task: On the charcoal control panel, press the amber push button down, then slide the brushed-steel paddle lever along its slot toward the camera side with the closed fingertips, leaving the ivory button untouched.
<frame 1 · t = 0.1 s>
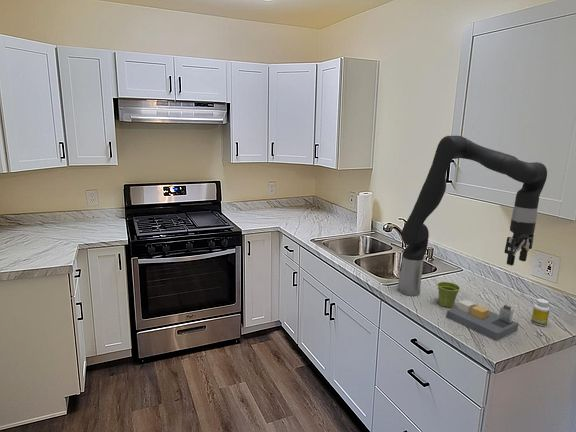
hand: (516, 262, 142), 29 cm above the countertop, fingers open, 8 cm apart
ivory button: (466, 307, 162), point 4 cm above the countertop, slide at 0.0 cm
panel: (480, 323, 157), on the countertop
amber button: (479, 313, 157), point 4 cm above the countertop, slide at 0.0 cm
supplement bottle: (538, 323, 159), on the countertop
plant pot: (446, 304, 174), on the countertop
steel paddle: (506, 313, 152), point 6 cm above the countertop, slide at 0.0 cm
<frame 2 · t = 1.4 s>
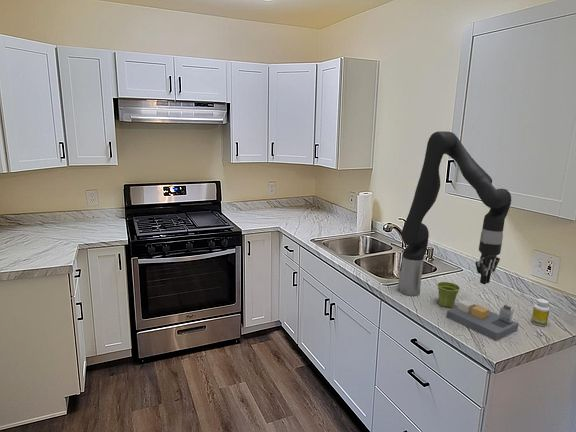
hand: (484, 282, 154), 17 cm above the countertop, fingers closed
nothing on the countertop moved.
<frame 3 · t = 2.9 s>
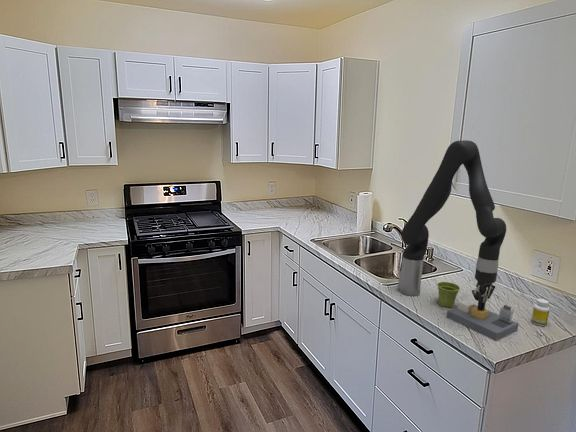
hand: (480, 309, 157), 6 cm above the countertop, fingers closed
amber button: (479, 314, 157), point 4 cm above the countertop, slide at 0.4 cm, touching gripper
everything else where it was.
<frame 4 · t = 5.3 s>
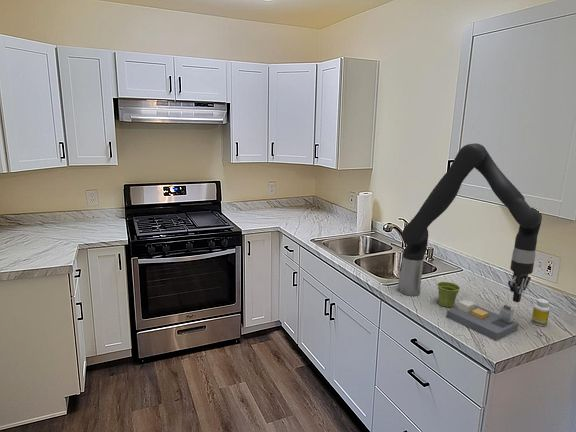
hand: (516, 301, 154), 10 cm above the countertop, fingers closed
amber button: (479, 316, 157), point 3 cm above the countertop, slide at 1.3 cm
everything else where it was.
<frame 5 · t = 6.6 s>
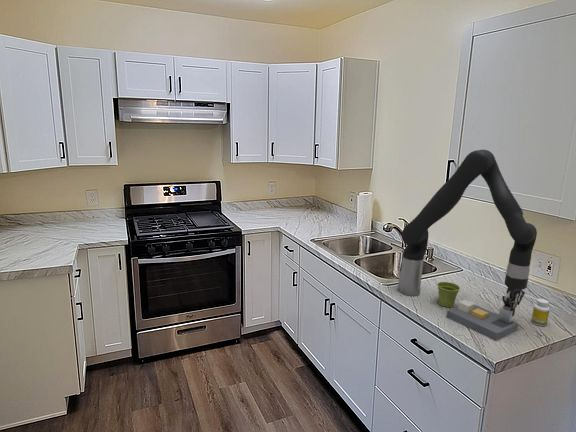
hand: (510, 315, 155), 4 cm above the countertop, fingers closed
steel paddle: (505, 313, 152), point 6 cm above the countertop, slide at 0.2 cm, touching hand
everything else where it was.
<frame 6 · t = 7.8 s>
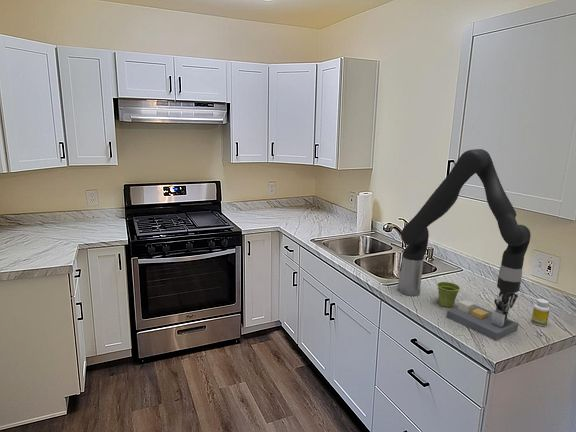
hand: (502, 319, 152), 4 cm above the countertop, fingers closed
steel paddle: (498, 317, 149), point 6 cm above the countertop, slide at 5.6 cm, touching hand
everything else where it was.
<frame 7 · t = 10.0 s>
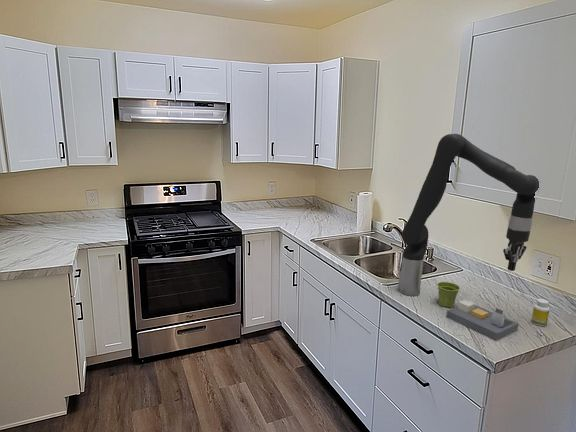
hand: (511, 270, 154), 22 cm above the countertop, fingers closed
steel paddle: (498, 317, 149), point 6 cm above the countertop, slide at 5.7 cm
everything else where it was.
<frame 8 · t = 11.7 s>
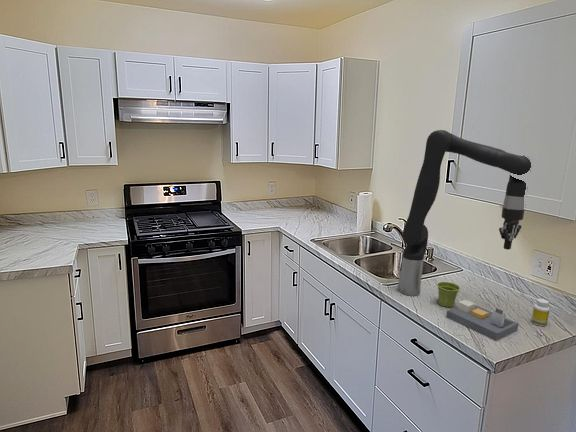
hand: (507, 248, 158), 29 cm above the countertop, fingers closed
nothing on the countertop moved.
at the end: amber button slide at 1.3 cm; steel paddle slide at 5.7 cm; ivory button slide at 0.0 cm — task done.
